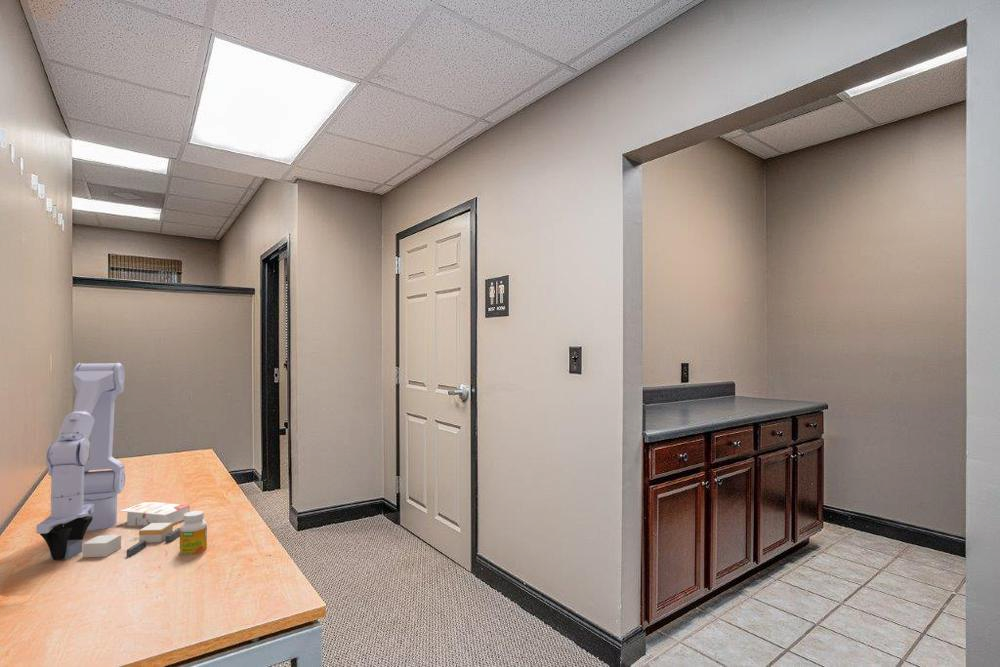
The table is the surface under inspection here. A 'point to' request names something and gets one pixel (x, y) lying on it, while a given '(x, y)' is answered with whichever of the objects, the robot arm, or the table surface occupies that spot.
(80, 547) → the gray cube
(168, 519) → the ink cartridge box
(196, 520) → the supplement bottle
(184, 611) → the table surface
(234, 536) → the table surface
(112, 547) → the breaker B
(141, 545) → the panel
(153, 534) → the block
